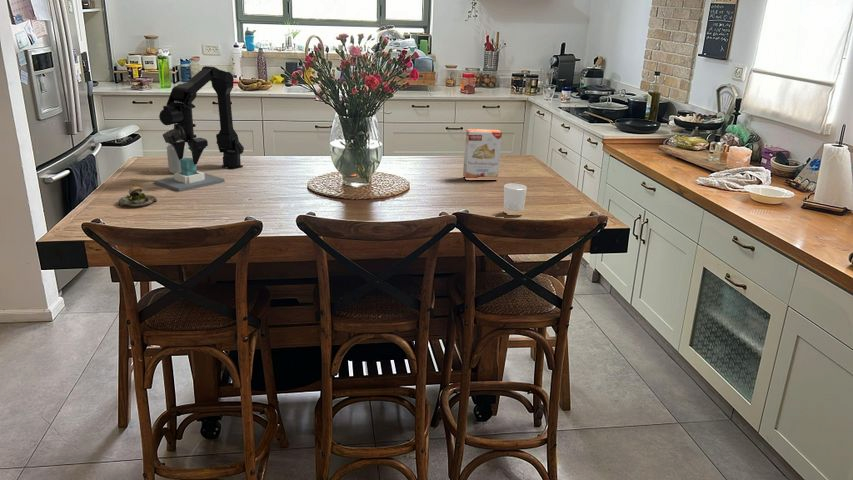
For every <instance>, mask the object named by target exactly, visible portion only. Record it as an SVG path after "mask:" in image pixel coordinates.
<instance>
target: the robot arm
mask: <svg viewBox="0 0 853 480" xmlns="http://www.w3.org/2000/svg"><path fill="white" fill-rule="evenodd" d="M209 82H210V83H211V87H212V88H213V91H215V94H216V95H217V96H216V97H217V105H218V114H219V115H218V116H219V127H220V130H219V132H218V133H216V135H215V137H216V144H217V147H218V151H219V153H222V154H223V155H222V165H221V168H225V169H228V170H233V169H237V168H243V167H244V165H242V164H241V155H242V154H243V153H244V150H245V147H244V146H243V144H242V143H241V142H240V141H239V136H238V134H237V132H236V130H235V129H234V125H233V124H234V123H233V113H232V111H233V110H232V104H231V103H232V99H231V92H232V90H233V88H234V75H233V74H232V73H231V72H230V71H225V70H222V69H219V68H217V67H215V66H209V65H208V66H207V65H205V66H203V67H202V68H201V69H200V71H198V72H197V73H196V74H195V75H193V76H192V77H191V78H190V79H188V80H187V81H186V82H183V83H179V84H177V85H175V86H173V87H172V89H171V91H170V94H169V97H168V99H167V102H166V105H163V106H162V107H163V109H162V110H161V111H160V112H159V114H158V115H159V116H158V117H159V121H160V123H162V125H165V126H171V125H173V129H170V130H168V131H166V132H164V133H163V134H162V138H163V140H164V141H165V143H166V144H171V145H172V146H173V147H174V149H175V151H176V154H177V156H178V158H179V160H180V159H183V154H184V147H185V146H186V143H187V146H188V149H187V150H190V153H191V158H193V163H194V165H196V166H197V165H198V162H199V160H200V158H201V155H202V154H203V152H204V150H205V149H206V148H207V147H209V144H208V142H209V141H208V139H206V138H202V137H197V134H195V131H194V128H195V127H196V126H197V125H196V123H194V121H193V120H194V119H193V109H195V108H196V105H195V104H194V103H193V102H194V101H195V99H196V98H197V97H198V96H197V95H198V94H197V93H198V91H200V90H201V89H202V88H203V87H205V86H206V84H208V83H209Z"/></svg>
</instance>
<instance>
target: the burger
mask: <svg viewBox="0 0 853 480" xmlns="http://www.w3.org/2000/svg"><path fill="white" fill-rule="evenodd" d="M132 184H133V187H131V188H130V189H129V191H128V194H127V195H126V196H124V197H121V198H120V199H118V206H119V207H120V208H122V209H123V208H124V206H127V207H142V206H148V205H149V204H151V203H153V202H155V203H157V197H155V196H154V195H147V194H145V193H144V192H143V188H142V187H140V186H134V183H132Z"/></svg>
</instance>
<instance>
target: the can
mask: <svg viewBox="0 0 853 480" xmlns="http://www.w3.org/2000/svg"><path fill="white" fill-rule="evenodd" d="M166 153H167V154H166V155H167V166H168V172H169V173H171V174H173V175H174V173H176V172H181V163H180V160H179V158H178V156H177V154H176V151H175V149H174V147H173V146H172V145H171V144H169V143H167V146H166ZM184 158H188V149H187V145H185V147H184V154H183V159H184Z"/></svg>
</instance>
